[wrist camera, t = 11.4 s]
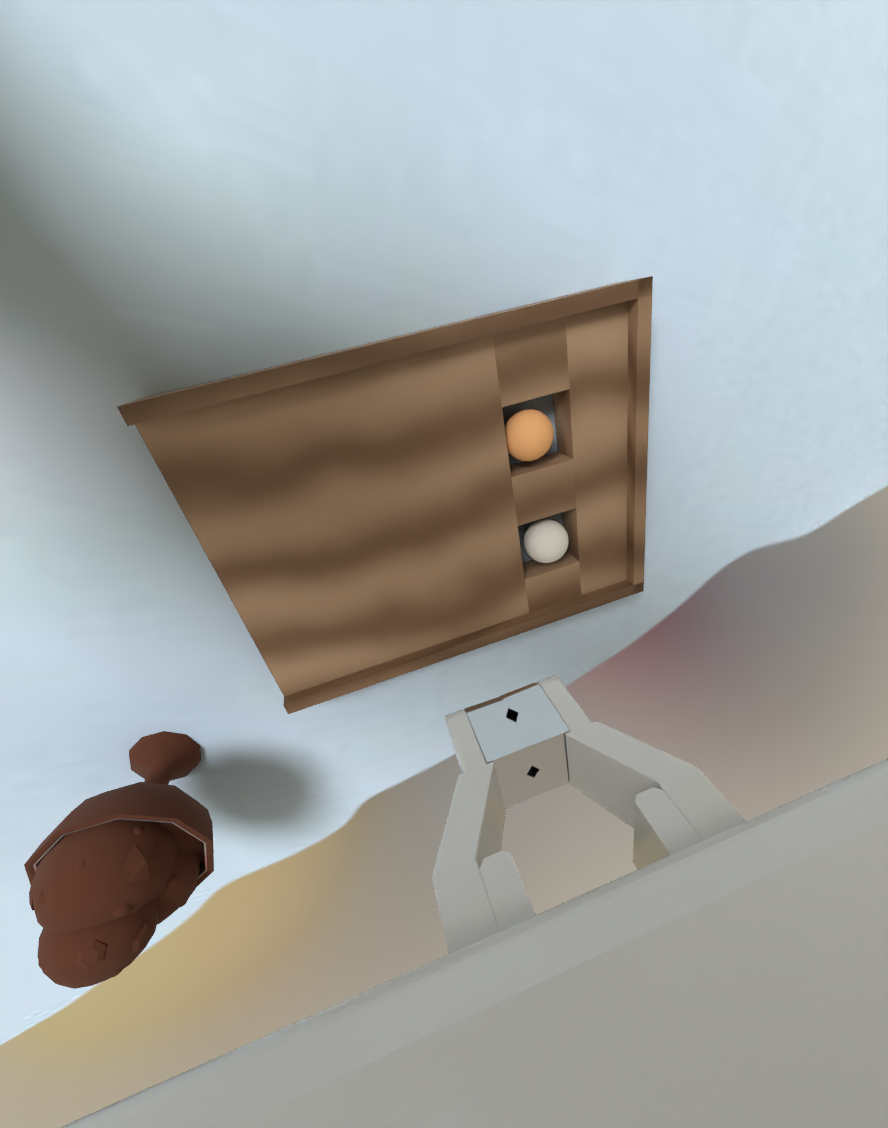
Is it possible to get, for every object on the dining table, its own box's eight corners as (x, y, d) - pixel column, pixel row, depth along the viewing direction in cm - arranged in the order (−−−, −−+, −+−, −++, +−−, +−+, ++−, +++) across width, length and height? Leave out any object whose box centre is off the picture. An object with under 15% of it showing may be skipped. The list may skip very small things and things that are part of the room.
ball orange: (554, 410, 29) (548, 400, 32) (500, 420, 30) (499, 409, 33) (558, 463, 31) (552, 448, 34) (507, 471, 31) (505, 456, 34)
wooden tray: (139, 399, 26) (117, 406, 23) (618, 282, 30) (652, 276, 27) (290, 684, 38) (288, 714, 35) (619, 572, 42) (643, 590, 39)
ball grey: (514, 520, 37) (533, 536, 33) (553, 507, 37) (575, 523, 34) (519, 557, 38) (537, 576, 35) (556, 544, 39) (578, 562, 36)
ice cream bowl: (252, 774, 41) (225, 971, 29) (124, 812, 40) (34, 1041, 27) (211, 693, 36) (155, 887, 23) (62, 732, 34) (-89, 966, 22)
